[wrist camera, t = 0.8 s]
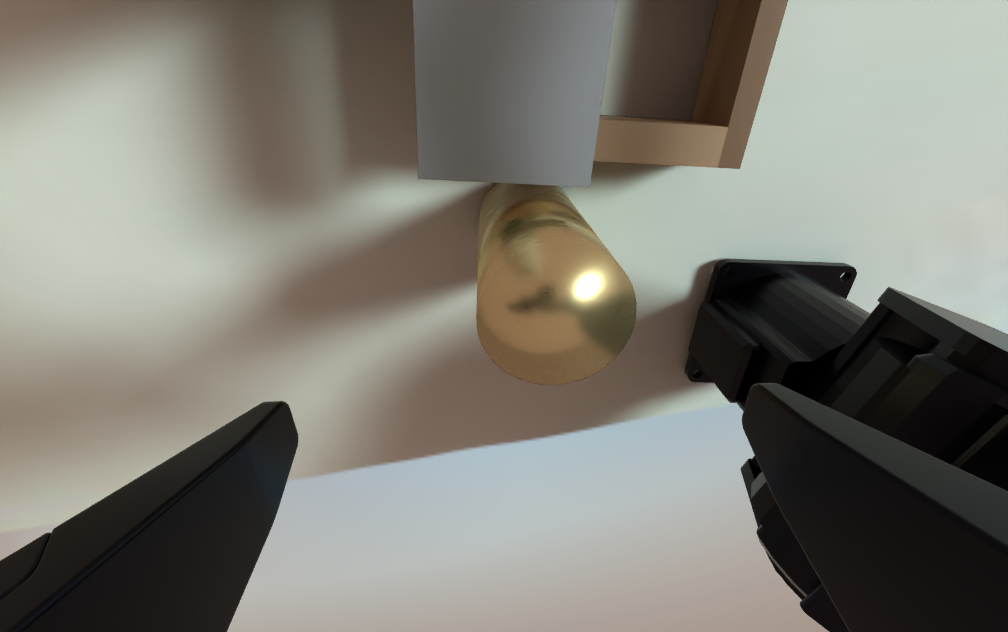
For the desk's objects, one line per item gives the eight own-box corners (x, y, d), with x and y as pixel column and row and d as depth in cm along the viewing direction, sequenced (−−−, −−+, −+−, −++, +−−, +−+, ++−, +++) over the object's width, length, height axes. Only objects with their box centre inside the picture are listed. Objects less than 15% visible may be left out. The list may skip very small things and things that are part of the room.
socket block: (765, -103, 14) (1012, -265, 8) (701, 156, 18) (831, 198, 11) (440, -133, 14) (402, -339, 7) (442, 142, 18) (418, 178, 11)
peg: (577, 175, 18) (651, 245, 10) (565, 266, 20) (620, 386, 12) (480, 170, 18) (478, 239, 10) (477, 263, 20) (474, 383, 12)
